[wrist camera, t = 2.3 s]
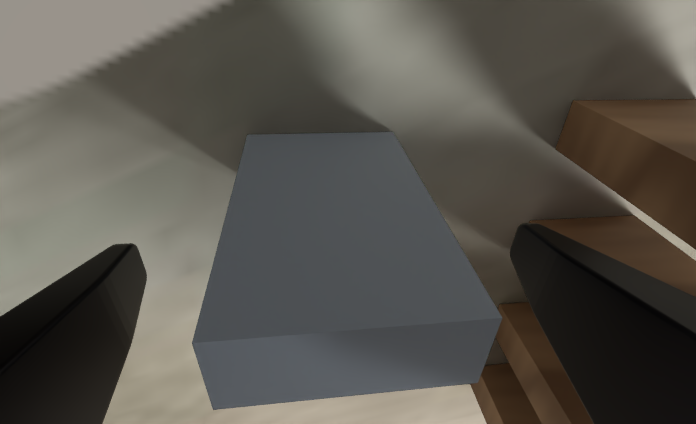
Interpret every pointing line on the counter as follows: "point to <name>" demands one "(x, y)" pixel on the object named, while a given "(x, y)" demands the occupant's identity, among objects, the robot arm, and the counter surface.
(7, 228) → the counter surface
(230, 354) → the domino
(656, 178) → the domino
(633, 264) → the domino
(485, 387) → the domino
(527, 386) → the domino
